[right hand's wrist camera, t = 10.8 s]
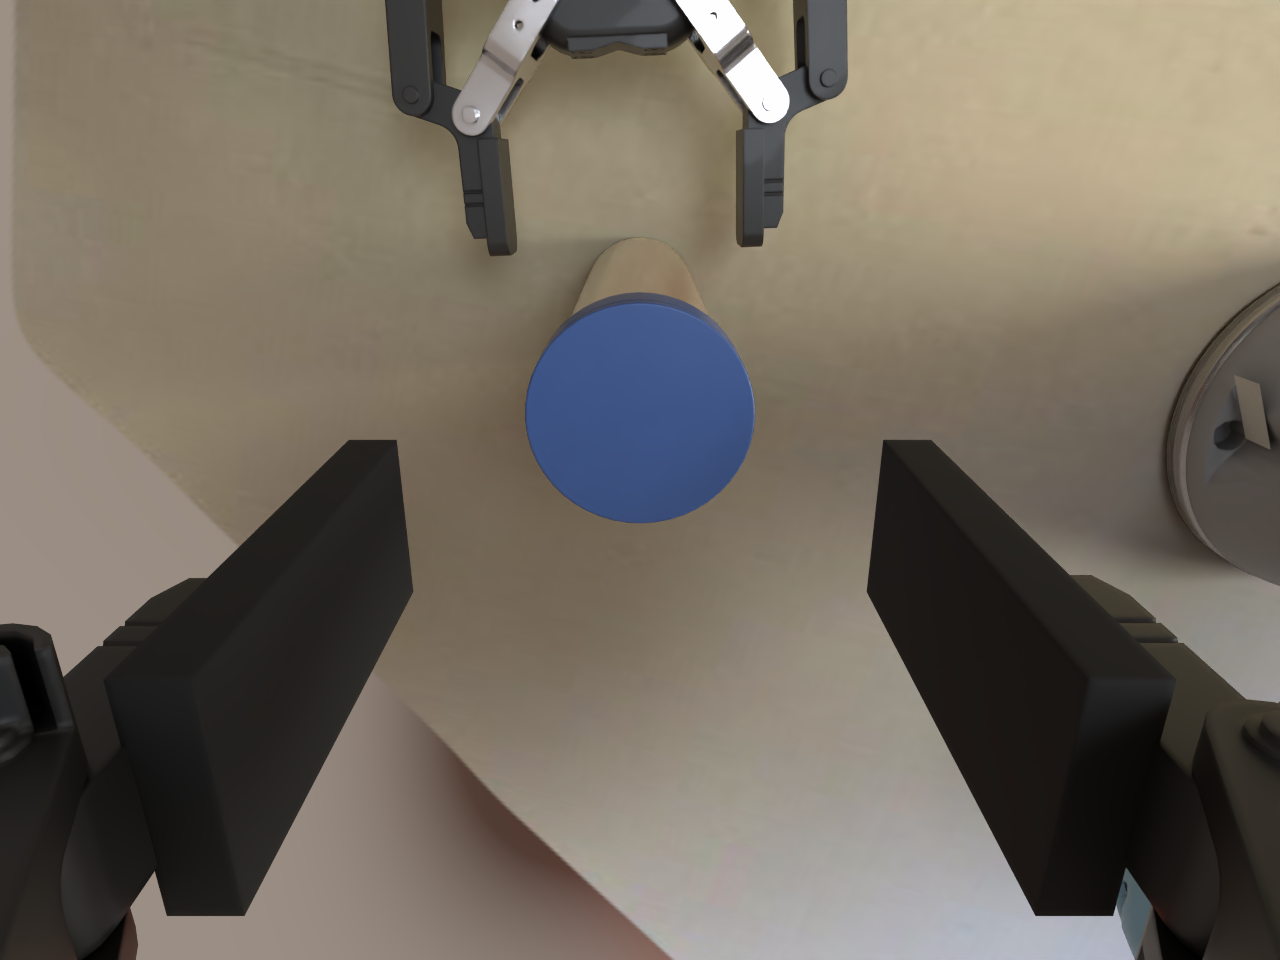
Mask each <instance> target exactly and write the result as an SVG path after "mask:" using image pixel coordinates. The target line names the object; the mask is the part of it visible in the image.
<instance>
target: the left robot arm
mask: <svg viewBox="0 0 1280 960" xmlns="http://www.w3.org/2000/svg"><path fill="white" fill-rule="evenodd" d="M385 5H386V18H387V31H388V44H389V58H390V71H391V84H392V96H393V100H394V103H395V105H396V106H397V108H398V109H399V110H400V111H401V112H403V113H405V114H407V115H410V116H414V117H417V118H420V119H423V120H426V121H429V122H432V123H435V124H438V125H441V126H443V127H445V128H446V129H448V130H449V131H450V132H451V133H452V134H453V136H454V137H455V139H456V141H457V144H458V149H459V158H460V167H461V176H462V186H463V192H464V194H463V195H464V204H465V213H466V223H467V225H468V227H469V229H470V231H471V233H472V235H473V237H474V239H481V238H487V245H488V251H489V254H490V256H507V255H512V254H513V253H515V252H516V250H517V235H516V223H515V212H514V201H513V189H512V178H511V167H510V155H509V144H508V139H501V133H500V126H501V125H502V123H503V121H504V120H505V118H506V116H507V115H508V113H509V111H510V110H511V108H512V106H513V104H514V103H515V101H516V99H517V98H518V96H519V94H520V93H521V91H522V89H523V88H524V86H525V85H526V84H527V83H528V82H529V81H530V79H531V78H532V76H533V75H534V73H535V72H536V70H537V68H538V67H539V65H540V63H541V61H542V60H543V58H544V56H545V55H546V53H547V51H548V50H549V48H550V46H552V47H553V48H554V49H556V50H557V51H559V52H561V53H563V54H566V55H570V56H571V57H572V59H581V58H597V57H599V56H602V55H605V54H608V53H611V52H614V51H617V50H622V51H626V52H630V53H634V54H638V55H642V56H650V55H666V52H667V51H670V50H673V49H674V48H676V47H678V46H679V45H681V44H682V43H683V42H684V41H685V40H686V39H687V40H688V41H689V43H690V44H691V46H692V47H693V48H694V50H695V51H696V53H697V54H698V55H699V57H700V58H701V60H702V61H703V62H704V64H705V65H706V66H707V68H708V69H709V70H710V72H711V73H712V74H713V75H714V76H715V77H716V78H717V79H718V80H719V82H720V83H721V84H722V86H723V87H724V89H725V90H726V91H727V93H728V94H729V96H730V97H731V98H732V100H733V101H734V103H735V104H736V105H737V107H738V108H739V110H740V111H741V112H742V114H743V129H741V130H738V131H736V239H737V244H738V245H739V246H741V247H758V246H762V244H763V233H764V228H777V226H778V223H779V221H780V218H781V216H782V213H783V192H784V145H785V131H786V127H787V125H788V123H789V121H790V120H791V119H792V118H793V117H794V116H795V115H796V114H797V113H799V112H801V111H803V110H805V109H807V108H810V107H812V106H814V105H816V104H819V103H821V102H823V101H826V100H829V99H832V98H835V97H836V96H838V95H839V94H840V93H841V92H842V91H843V90H844V88H845V86H846V84H847V78H848V61H847V0H793V14H794V47H795V70H794V71H792V72H790V73H788V74H785V75H783V76H781V77H779V78H778V77H777V75H776V74H775V73H774V71H773V70H772V68H771V67H770V65H769V64H768V62H767V61H766V60H765V58H764V57H763V55H762V54H761V52H760V51H759V49H758V48H757V47H756V45H755V43H754V41H753V39H752V36H751V34H750V32H749V30H748V29H747V27H746V26H745V24H744V23H743V21H742V20H741V18H740V17H739V15H738V14H737V13H736V11H735V10H734V8H733V7H732V5H731V4H730V2H729V1H728V0H509V1H508V2H507V4H506V6H505V8H504V9H503V11H502V13H501V15H500V16H499V18H498V20H497V22H496V24H495V25H494V27H493V29H492V31H491V32H490V34H489V36H488V38H487V40H486V42H485V44H484V47H483V51H482V54H481V57H480V59H479V61H478V62H477V64H476V66H475V68H474V69H473V71H472V73H471V75H470V76H469V78H468V80H467V82H466V83H465V85H464V87H463V89H462V90H458V89H455V88H452V87H449V86H446V72H445V53H444V35H443V17H442V0H385Z"/></svg>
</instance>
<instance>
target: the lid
mask: <svg viewBox="0 0 1280 960" xmlns="http://www.w3.org/2000/svg"><path fill="white" fill-rule="evenodd" d="M754 420H755V404H754V397H753V391H752V386H751V383H750V380H749V377H748V374H747V371H746V369H745V367H744V365H743V363H742V361H741V359H740V357H739V355H738V353H737V351H736V349H735V347H734V345H733V344H732V342H731V341H730V339H729V338H728V336H727V335H726V333H725V332H724V331H723V330H722V329H721V328H720V326H719V325H718V324H717V323H716V322H714V321H713V320H712V319H711V318H710V317H709V316H708V315H706V314H705V313H703V312H702V311H700V310H699V309H697V308H696V307H694V306H692V305H690V304H688V303H686V302H684V301H682V300H679V299H676V298H673V297H670V296H667V295H661V294H656V293H645V292H634V293H623V294H618V295H614V296H609V297H607V298H604V299H601V300H598V301H596V302H594V303H592V304H590V305H588V306H586V307H584V308H582V309H581V310H579V311H578V312H577V313H575V314H574V315H572V316H571V317H570V318H569V319H568V320H567V321H566V322H565V323H563V324H562V325H561V326H560V327H559V329H558V330H557V331H556V332H555V334H554V335H553V336H552V337H551V339H550V341H549V342H548V344H547V345H546V347H545V349H544V351H543V353H542V355H541V357H540V359H539V361H538V363H537V365H536V367H535V369H534V372H533V374H532V376H531V380H530V383H529V387H528V390H527V397H526V404H525V421H526V429H527V435H528V439H529V442H530V446H531V449H532V451H533V454H534V456H535V458H536V461H537V462H538V464H539V466H540V468H541V469H542V471H543V473H544V474H545V475H546V477H547V478H548V479H549V480H550V482H551V483H552V484H553V485H554V486H555V487H556V488H557V489H558V490H559V491H560V492H561V493H562V494H563V495H564V496H565V497H567V498H568V499H569V500H571V501H572V502H573V503H575V504H576V505H578V506H580V507H581V508H583V509H585V510H587V511H589V512H591V513H594V514H596V515H598V516H601V517H604V518H608V519H611V520H615V521H621V522H627V523H651V522H659V521H664V520H669V519H673V518H676V517H679V516H682V515H684V514H687V513H689V512H691V511H693V510H695V509H697V508H699V507H700V506H702V505H704V504H705V503H707V502H708V501H710V500H711V499H712V498H713V497H715V496H716V495H717V494H718V493H719V492H720V491H721V490H722V489H723V488H724V487H725V486H726V485H727V484H728V483H729V482H730V481H731V479H732V478H733V477H734V475H735V474H736V473H737V471H738V470H739V468H740V466H741V464H742V462H743V460H744V459H745V456H746V454H747V451H748V449H749V446H750V443H751V439H752V435H753V430H754Z"/></svg>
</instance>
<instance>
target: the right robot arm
mask: <svg viewBox="0 0 1280 960" xmlns="http://www.w3.org/2000/svg"><path fill="white" fill-rule="evenodd" d="M1166 464H1167V475H1168V481H1169V486H1170V491H1171V494H1172V497H1173V500H1174V503H1175V505H1176V507H1177V509H1178V511H1179V514H1180V516H1181V517H1182V519H1183V520H1184V522H1185V523H1186V525H1187V526H1188V528H1189V529H1190V530H1191V531H1192V533H1193V534H1194V535H1195V536H1196V537H1197V538H1198V539H1199V540H1200V541H1201V542H1202V543H1203V544H1204V545H1206V546H1207V547H1208V548H1210V549H1211V550H1212V551H1214V552H1215V553H1217V554H1218V555H1220V556H1221V557H1222V558H1224V559H1225V560H1227V561H1228V562H1230V563H1231V564H1233V565H1234V566H1236V567H1237V568H1239V569H1241V570H1243V571H1245V572H1247V573H1249V574H1251V575H1253V576H1256V577H1258V578H1261V579H1263V580H1265V581H1268V582H1270V583H1273V584H1276V585H1279V586H1280V285H1279V286H1277V287H1275V288H1274V289H1272V290H1271V291H1269V292H1268V293H1266V294H1265V295H1263V296H1262V297H1260V298H1259V299H1258V300H1256V301H1255V302H1254V303H1252V304H1251V305H1250V306H1249V307H1248V308H1246V309H1245V310H1244V311H1243V312H1241V313H1240V314H1239V315H1238V316H1237V317H1236V318H1235V319H1234V320H1233V321H1232V322H1231V323H1230V324H1229V325H1228V326H1227V327H1226V328H1225V329H1224V330H1223V331H1222V332H1221V333H1220V334H1219V335H1218V337H1217V338H1216V339H1215V340H1214V341H1213V342H1212V344H1211V345H1210V346H1209V348H1208V349H1207V350H1206V351H1205V353H1204V354H1203V355H1202V357H1201V359H1200V360H1199V362H1198V363H1197V365H1196V366H1195V368H1194V369H1193V371H1192V373H1191V375H1190V376H1189V378H1188V380H1187V382H1186V384H1185V386H1184V388H1183V390H1182V392H1181V395H1180V397H1179V399H1178V402H1177V405H1176V408H1175V411H1174V414H1173V417H1172V421H1171V425H1170V429H1169V434H1168V442H1167V460H1166ZM412 593H413V585H412V576H411V567H410V558H409V549H408V540H407V530H406V521H405V512H404V503H403V494H402V485H401V476H400V466H399V457H398V448H397V440H349V441H347V442H346V443H345V444H344V445H343V446H342V447H341V448H340V449H339V450H338V451H337V452H336V453H335V454H334V455H333V456H332V457H331V458H330V459H329V460H328V461H327V462H326V463H325V464H324V465H323V466H322V467H321V468H320V469H319V470H318V471H317V472H316V473H315V474H314V475H313V476H312V477H311V478H310V479H309V480H307V481H306V482H305V483H304V484H303V485H302V486H301V487H300V488H299V489H298V490H297V491H296V492H295V493H294V494H293V495H292V496H291V497H290V498H289V499H288V500H287V501H286V502H285V503H284V504H283V505H282V506H281V507H280V508H279V509H278V510H277V511H276V512H275V513H274V514H273V515H272V516H271V517H270V518H268V519H267V520H266V521H265V522H264V523H263V524H262V525H261V526H260V527H259V528H258V529H257V530H256V531H255V532H254V533H253V534H252V535H251V536H250V537H249V538H248V539H247V540H246V541H245V542H244V543H243V544H242V545H241V546H240V547H239V548H238V549H237V550H236V551H235V552H234V553H233V554H232V555H231V556H229V557H228V558H227V559H226V560H225V561H224V562H223V563H222V564H221V565H220V566H219V567H218V568H217V569H216V570H215V571H214V572H213V573H212V574H211V575H210V576H209V577H208V578H189V579H187V580H185V581H183V582H181V583H179V584H177V585H175V586H173V587H171V588H170V589H168V590H166V591H164V592H162V593H160V594H158V595H156V596H154V597H152V598H151V599H150V600H148V601H147V602H146V603H145V604H144V605H143V606H142V607H141V608H140V609H138V610H137V611H136V612H135V613H134V614H133V615H132V616H131V617H130V618H128V619H127V620H126V621H125V626H120V627H119V628H117V629H116V630H115V631H114V632H113V633H112V634H111V635H110V636H109V637H107V638H106V639H105V640H104V641H103V646H98V647H96V648H95V649H94V650H93V651H92V652H91V653H90V654H89V655H87V656H86V657H85V658H84V659H83V660H82V661H81V662H80V663H79V664H78V665H76V666H75V667H74V668H73V669H72V670H71V671H70V672H69V673H68V674H66V675H65V676H64V677H63V675H62V672H61V668H60V665H59V661H58V658H57V654H56V651H55V648H54V644H53V641H52V637H51V635H50V634H49V633H47V632H46V631H44V630H42V629H41V628H39V627H38V626H31V625H22V624H13V623H12V624H1V625H0V960H136V954H137V948H138V941H137V934H136V926H135V923H134V920H133V916H132V913H131V909H130V907H131V905H132V903H133V902H134V901H135V899H136V898H137V896H138V895H139V893H140V892H141V890H142V889H143V887H144V886H145V884H146V883H147V881H148V880H149V878H150V877H151V876H152V874H153V873H154V871H155V873H156V877H157V880H158V884H159V888H160V892H161V896H162V899H163V903H164V907H165V910H166V914H167V916H245V914H246V912H247V910H248V908H249V906H250V904H251V902H252V900H253V898H254V896H255V894H256V893H257V891H258V889H259V887H260V885H261V883H262V881H263V879H264V877H265V875H266V873H267V871H268V870H269V868H270V866H271V864H272V862H273V860H274V858H275V856H276V854H277V852H278V850H279V848H280V847H281V845H282V843H283V841H284V839H285V837H286V835H287V833H288V831H289V829H290V827H291V825H292V823H293V822H294V820H295V818H296V816H297V814H298V812H299V810H300V808H301V806H302V804H303V802H304V800H305V798H306V797H307V795H308V793H309V791H310V789H311V787H312V785H313V783H314V781H315V779H316V777H317V776H318V774H319V772H320V770H321V768H322V766H323V764H324V762H325V760H326V758H327V756H328V754H329V752H330V751H331V749H332V747H333V745H334V743H335V741H336V739H337V737H338V735H339V733H340V731H341V729H342V727H343V726H344V724H345V722H346V720H347V718H348V716H349V714H350V712H351V710H352V708H353V706H354V704H355V703H356V701H357V699H358V697H359V695H360V693H361V691H362V689H363V687H364V685H365V683H366V681H367V679H368V678H369V676H370V674H371V672H372V670H373V668H374V666H375V664H376V662H377V660H378V658H379V656H380V655H381V653H382V651H383V649H384V647H385V645H386V643H387V641H388V639H389V637H390V635H391V633H392V632H393V630H394V628H395V626H396V624H397V622H398V620H399V618H400V616H401V614H402V612H403V610H404V609H405V607H406V605H407V603H408V601H409V599H410V597H411V595H412ZM867 593H868V595H869V597H870V599H871V601H872V603H873V605H874V607H875V608H876V610H877V612H878V614H879V616H880V618H881V620H882V622H883V624H884V626H885V628H886V630H887V632H888V633H889V635H890V637H891V639H892V641H893V643H894V645H895V647H896V649H897V651H898V653H899V655H900V656H901V658H902V660H903V662H904V664H905V666H906V668H907V670H908V672H909V674H910V676H911V678H912V680H913V681H914V683H915V685H916V687H917V689H918V691H919V693H920V695H921V697H922V699H923V701H924V703H925V704H926V706H927V708H928V710H929V712H930V714H931V716H932V718H933V720H934V722H935V724H936V726H937V728H938V729H939V731H940V733H941V735H942V737H943V739H944V741H945V743H946V745H947V747H948V749H949V751H950V752H951V754H952V756H953V758H954V760H955V762H956V764H957V766H958V768H959V770H960V772H961V774H962V775H963V777H964V779H965V781H966V783H967V785H968V787H969V789H970V791H971V793H972V795H973V797H974V799H975V800H976V802H977V804H978V806H979V808H980V810H981V812H982V814H983V816H984V818H985V820H986V822H987V823H988V825H989V827H990V829H991V831H992V833H993V835H994V837H995V839H996V841H997V843H998V845H999V847H1000V848H1001V850H1002V852H1003V854H1004V856H1005V858H1006V860H1007V862H1008V864H1009V866H1010V868H1011V870H1012V871H1013V873H1014V875H1015V877H1016V879H1017V881H1018V883H1019V885H1020V887H1021V889H1022V891H1023V893H1024V895H1025V896H1026V898H1027V900H1028V902H1029V904H1030V906H1031V908H1032V910H1033V912H1034V914H1035V916H1113V914H1114V910H1115V907H1116V906H1117V909H1118V912H1119V915H1120V918H1121V921H1122V929H1123V931H1124V934H1125V937H1126V939H1127V942H1128V944H1129V947H1130V949H1131V952H1132V954H1133V956H1134V958H1135V960H1280V702H1279V703H1275V702H1265V701H1256V700H1247V699H1245V698H1244V697H1243V696H1242V695H1241V694H1240V693H1238V692H1237V691H1236V690H1235V689H1234V688H1233V687H1232V686H1231V685H1230V684H1228V683H1227V682H1226V681H1225V680H1224V679H1223V678H1222V677H1221V676H1219V675H1218V674H1217V673H1216V672H1215V671H1214V670H1213V669H1212V668H1211V667H1209V666H1208V665H1207V664H1206V663H1205V662H1204V661H1203V660H1202V659H1200V658H1199V657H1198V656H1197V655H1196V654H1195V653H1194V652H1193V651H1192V650H1190V649H1189V648H1188V647H1187V646H1186V645H1185V644H1184V643H1178V641H1177V637H1176V636H1175V635H1174V634H1173V633H1171V632H1170V631H1169V630H1168V629H1167V628H1166V627H1165V626H1164V625H1163V624H1161V623H1156V618H1155V617H1154V616H1152V615H1151V614H1150V613H1149V612H1148V611H1147V610H1146V609H1145V608H1144V607H1142V606H1141V605H1140V604H1139V603H1138V602H1137V601H1136V600H1135V599H1134V598H1132V597H1131V596H1130V595H1129V594H1127V593H1125V592H1123V591H1121V590H1119V589H1117V588H1115V587H1113V586H1111V585H1109V584H1107V583H1105V582H1103V581H1101V580H1099V579H1098V578H1096V577H1094V576H1092V575H1069V574H1068V573H1067V572H1066V571H1065V570H1064V569H1063V568H1062V567H1061V566H1060V565H1059V564H1058V563H1057V562H1056V561H1055V560H1054V559H1053V558H1052V557H1051V556H1049V555H1048V554H1047V553H1046V552H1045V551H1044V550H1043V549H1042V548H1041V547H1040V546H1039V545H1038V544H1037V543H1036V542H1035V541H1034V540H1033V539H1032V538H1031V537H1030V536H1029V535H1028V534H1027V533H1026V532H1025V531H1024V530H1023V529H1022V528H1021V527H1020V526H1019V525H1018V524H1017V523H1016V522H1015V521H1014V520H1013V519H1012V518H1010V517H1009V516H1008V515H1007V514H1006V513H1005V512H1004V511H1003V510H1002V509H1001V508H1000V507H999V506H998V505H997V504H996V503H995V502H994V501H993V500H992V499H991V498H990V497H989V496H988V495H987V494H986V493H985V492H984V491H983V490H982V489H981V488H980V487H979V486H978V485H977V484H976V483H975V482H974V481H973V480H972V479H970V478H969V477H968V476H967V475H966V474H965V473H964V472H963V471H962V470H961V469H960V468H959V467H958V466H957V465H956V464H955V463H954V462H953V461H952V460H951V459H950V458H949V457H948V456H947V455H946V454H945V453H944V452H943V451H942V450H941V449H940V448H939V447H938V446H937V445H936V444H935V443H934V442H933V441H931V440H883V448H882V457H881V467H880V476H879V485H878V494H877V503H876V512H875V521H874V530H873V540H872V549H871V558H870V567H869V576H868V585H867Z"/></svg>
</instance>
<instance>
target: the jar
mask: <svg viewBox="0 0 1280 960" xmlns="http://www.w3.org/2000/svg"><path fill="white" fill-rule="evenodd" d="M634 292H645V293H656V294H661V295H667V296H670V297H673V298H676V299H679V300H682V301H684V302H686V303H688V304H690V305H692V306H694V307H696V308H697V309H699V310H700V311H702V312H703V313H705V314H706V315H708V313H707V310H706V308H705V306H704V303H703V301H702V299H701V296H700V294H699V292H698V289H697V287H696V285H695V283H694V280H693V278H692V276H691V273H690V271H689V269H688V267H687V265H686V263H685V262H684V260H683V259H682V258H681V256H680V255H679V254H678V253H677V252H676V251H675V250H674V249H672V248H671V247H669V246H668V245H666V244H664V243H662V242H660V241H657V240H654V239H650V238H641V237H638V238H630V239H625V240H623V241H620V242H618V243H616V244H614V245H612V246H611V247H609V248H608V249H606V250H605V251H604V252H603V253H602V254H601V255H600V256H599V258H598V259H597V260H596V262H595V263H594V265H593V267H592V269H591V271H590V273H589V276H588V278H587V280H586V283H585V285H584V287H583V290H582V292H581V294H580V297H579V299H578V301H577V304H576V306H575V308H574V311H573V313H572V315H574V314H575V313H577V312H578V311H579V310H581V309H582V308H584V307H586V306H588V305H590V304H592V303H594V302H596V301H598V300H601V299H604V298H607V297H609V296H614V295H618V294H623V293H634ZM572 315H571V316H572ZM708 316H709V315H708Z"/></svg>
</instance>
